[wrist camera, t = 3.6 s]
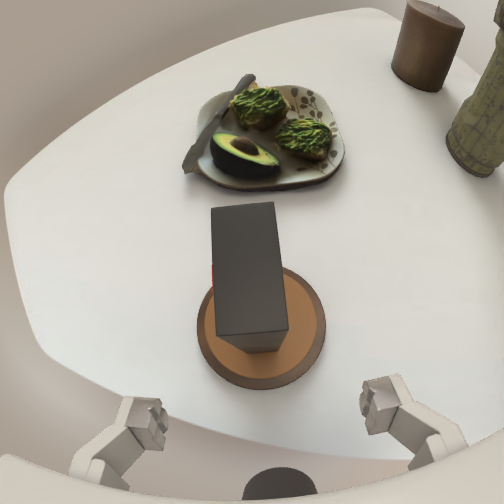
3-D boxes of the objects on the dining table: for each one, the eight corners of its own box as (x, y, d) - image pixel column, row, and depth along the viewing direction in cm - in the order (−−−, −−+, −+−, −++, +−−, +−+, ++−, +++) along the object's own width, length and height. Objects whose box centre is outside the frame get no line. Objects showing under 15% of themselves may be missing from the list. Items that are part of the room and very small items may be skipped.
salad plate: (193, 90, 38) (187, 66, 34) (317, 81, 37) (320, 56, 33) (184, 202, 31) (171, 177, 27) (352, 189, 30) (363, 162, 26)
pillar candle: (445, 99, 36) (476, 30, 22) (392, 80, 38) (414, 3, 24) (435, 70, 39) (458, 8, 26) (388, 54, 41) (404, -13, 27)
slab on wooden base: (320, 371, 23) (391, 376, 9) (210, 381, 23) (127, 397, 9) (307, 268, 26) (344, 153, 12) (205, 278, 26) (136, 176, 12)
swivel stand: (317, 394, 23) (318, 395, 22) (190, 378, 24) (187, 378, 23) (327, 273, 27) (329, 269, 26) (210, 261, 28) (207, 257, 27)
